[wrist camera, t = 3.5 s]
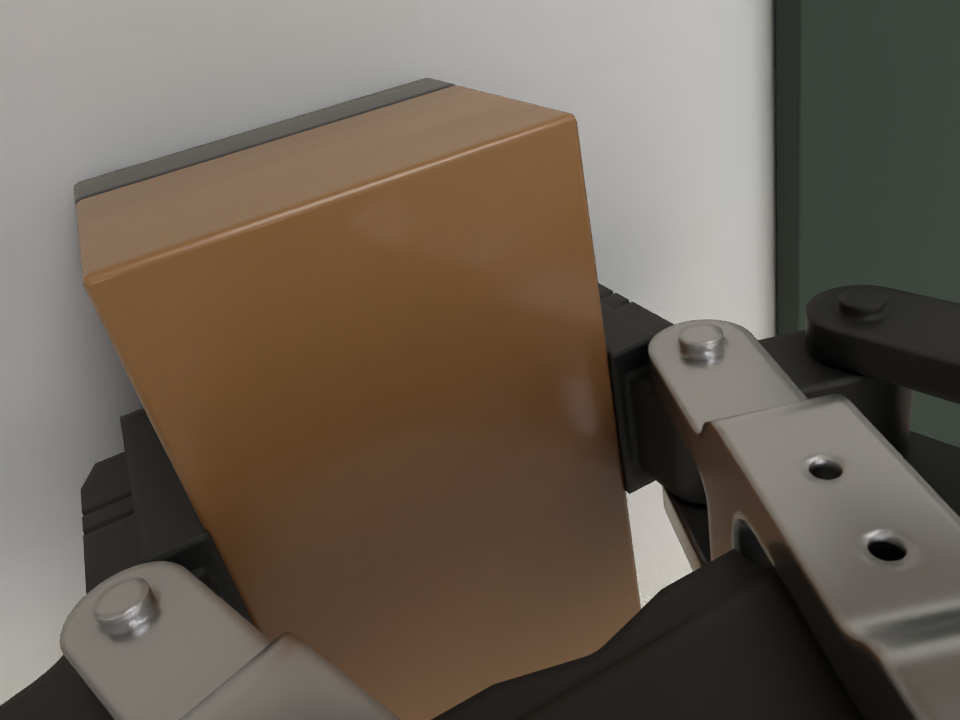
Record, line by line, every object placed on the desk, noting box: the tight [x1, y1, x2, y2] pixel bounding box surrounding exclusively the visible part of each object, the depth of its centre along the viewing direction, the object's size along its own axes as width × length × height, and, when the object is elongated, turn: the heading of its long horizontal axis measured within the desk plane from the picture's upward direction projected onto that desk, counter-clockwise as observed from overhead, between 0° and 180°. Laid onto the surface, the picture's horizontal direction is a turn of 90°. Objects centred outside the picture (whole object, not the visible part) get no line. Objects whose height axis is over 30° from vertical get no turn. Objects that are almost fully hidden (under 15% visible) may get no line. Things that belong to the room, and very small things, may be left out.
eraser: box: [74, 78, 641, 720], centre depth 11 cm, size 8×5×4 cm, turn 13°
